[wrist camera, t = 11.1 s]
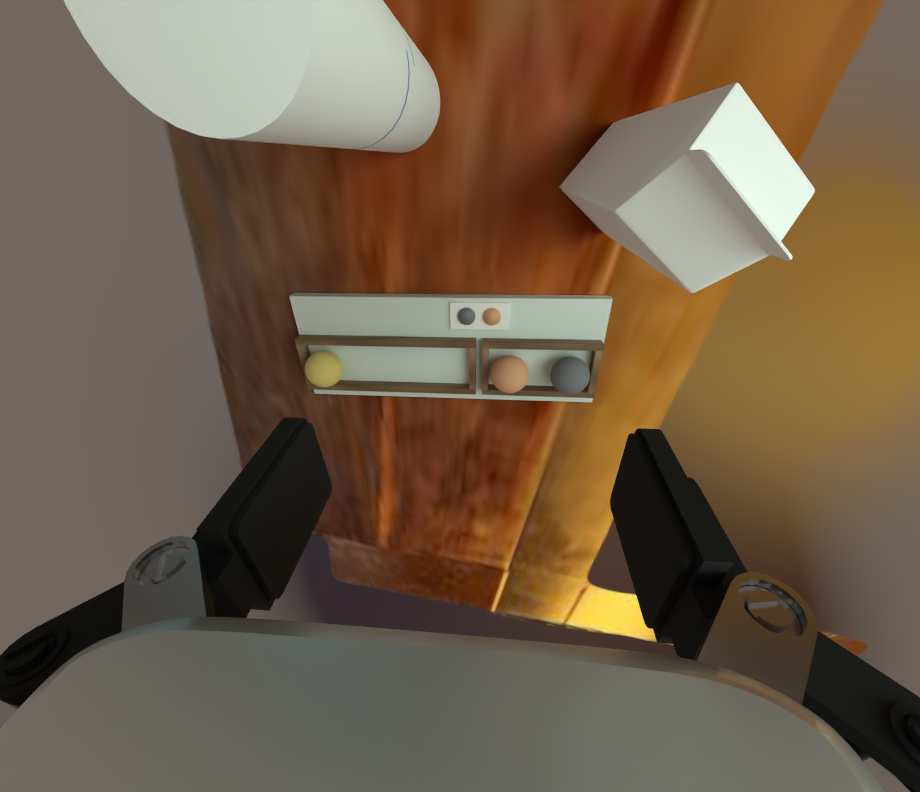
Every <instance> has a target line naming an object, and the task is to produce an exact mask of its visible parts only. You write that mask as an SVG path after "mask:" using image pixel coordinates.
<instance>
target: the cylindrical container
mask: <svg viewBox="0 0 920 792" xmlns="http://www.w3.org/2000/svg"><path fill="white" fill-rule="evenodd" d="M64 2H65V4H66V6H67V8H68V10H69V11H70V13H71V15H72V17H73V19H74V20H75V22H76V24H77V26H78V27H79V29H80V31H81V33H82V34H83V36H84V38H85V39H86V41H87V42H88V43H89V45H90V46H91V48H92V49H93V51H94V52H95V53H96V55H97V56H98V58H99V59H100V60H101V62H102V63H103V65H104V66H105V67H106V68H107V70H108V71H109V72H110V73H111V74H112V75H113V76H114V77H115V78H116V79H117V80H118V82H119V83H120V84H121V85H122V86H123V87H124V88H125V89H126V90H127V91H128V92H129V93H130V94H131V95H132V96H133V97H135V98H136V99H137V100H138V101H139V102H141V103H142V104H143V105H144V106H145V107H147V108H148V109H149V110H150V111H151V112H153V113H154V114H156V115H157V116H159V117H161V118H162V119H164V120H166V121H168V122H169V123H171V124H173V125H174V126H176V127H178V128H181V129H183V130H186V131H189V132H191V133H194V134H197V135H199V136H205V137H212V138H218V139H229V140H241V141H254V142H267V143H280V144H293V145H306V146H319V147H331V148H344V149H357V150H370V151H383V152H396V153H403V152H409V151H412V150H415V149H416V148H418V147H420V146H421V145H422V144H424V143H425V142H426V141H427V140H428V138H429V137H430V135H431V134H432V132H433V131H434V128H435V126H436V124H437V120H438V116H439V111H440V93H439V88H438V83H437V80H436V78H435V75H434V72H433V70H432V69H431V67H430V65H429V64H428V62H427V61H426V59H425V58H424V56H423V55H422V54H421V52H420V51H419V50H418V48H417V47H416V45H415V44H414V43H413V41H412V40H411V39H410V37H409V36H408V34H407V33H406V32H405V30H404V29H403V28H402V26H401V25H400V23H399V22H398V21H397V19H396V18H395V17H394V15H393V14H392V12H391V11H390V10H389V8H388V7H387V5H386V4H385V3H384V1H383V0H64Z"/></svg>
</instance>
